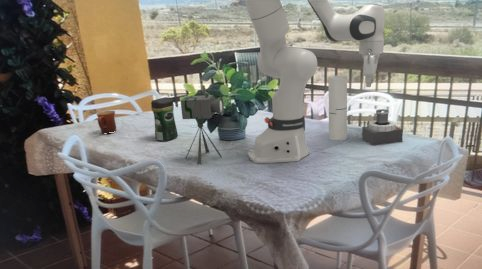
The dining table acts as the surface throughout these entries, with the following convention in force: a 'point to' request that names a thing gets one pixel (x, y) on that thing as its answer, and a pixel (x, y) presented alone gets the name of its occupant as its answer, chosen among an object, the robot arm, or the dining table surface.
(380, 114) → the lens
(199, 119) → the camera
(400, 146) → the dining table surface
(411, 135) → the dining table surface
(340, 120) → the cylindrical container
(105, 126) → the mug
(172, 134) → the coffee jar
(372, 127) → the camera body
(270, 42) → the robot arm
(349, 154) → the dining table surface
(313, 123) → the dining table surface
